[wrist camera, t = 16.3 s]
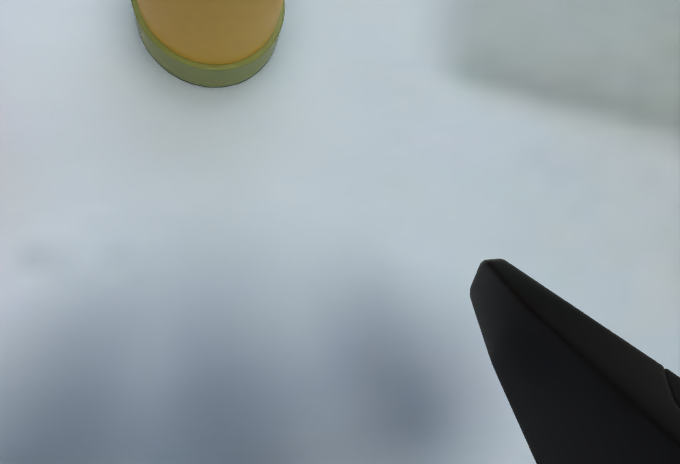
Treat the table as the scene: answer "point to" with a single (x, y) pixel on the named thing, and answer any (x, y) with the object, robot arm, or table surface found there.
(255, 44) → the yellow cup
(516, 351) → the robot arm
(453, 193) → the table surface
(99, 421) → the table surface
